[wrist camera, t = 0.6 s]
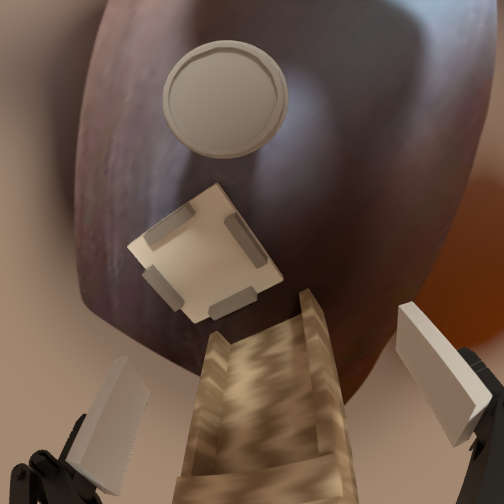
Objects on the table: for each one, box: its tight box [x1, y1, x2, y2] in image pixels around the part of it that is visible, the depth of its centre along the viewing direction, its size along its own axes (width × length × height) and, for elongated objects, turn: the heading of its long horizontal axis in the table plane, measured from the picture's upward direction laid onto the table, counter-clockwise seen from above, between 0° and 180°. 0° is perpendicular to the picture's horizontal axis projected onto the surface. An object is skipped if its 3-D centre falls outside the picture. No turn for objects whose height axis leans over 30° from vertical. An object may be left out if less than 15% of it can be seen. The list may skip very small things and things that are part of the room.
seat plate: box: [127, 182, 283, 324], centre depth 37 cm, size 15×15×2 cm
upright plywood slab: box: [172, 288, 359, 504], centre depth 29 cm, size 17×6×30 cm, turn 123°
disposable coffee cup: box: [163, 40, 289, 159], centre depth 23 cm, size 10×10×12 cm
